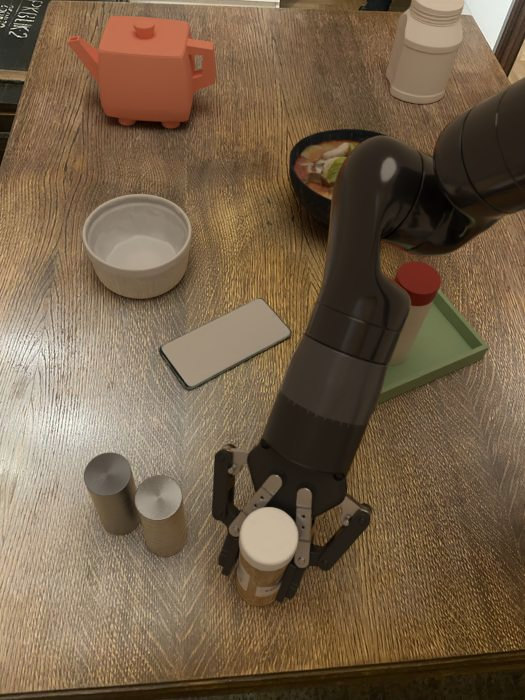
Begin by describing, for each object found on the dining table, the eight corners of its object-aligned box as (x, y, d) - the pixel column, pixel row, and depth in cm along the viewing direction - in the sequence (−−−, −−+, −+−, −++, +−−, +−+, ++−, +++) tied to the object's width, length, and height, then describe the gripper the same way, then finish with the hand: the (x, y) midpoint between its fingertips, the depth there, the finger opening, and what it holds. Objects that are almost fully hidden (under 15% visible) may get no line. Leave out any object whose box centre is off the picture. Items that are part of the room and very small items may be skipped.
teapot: (73, 127, 95) (54, 37, 84) (88, 82, 103) (72, -6, 91) (212, 137, 96) (212, 49, 85) (218, 92, 104) (218, 6, 92)
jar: (383, 67, 112) (404, -21, 100) (434, 70, 112) (460, -17, 100) (392, 103, 105) (415, 14, 93) (446, 105, 106) (476, 17, 94)
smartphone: (156, 347, 71) (261, 296, 77) (157, 350, 71) (260, 298, 77) (187, 390, 68) (294, 333, 74) (187, 392, 68) (293, 335, 74)
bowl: (424, 231, 87) (446, 174, 79) (326, 272, 81) (339, 215, 73) (355, 163, 95) (368, 105, 87) (261, 196, 89) (266, 137, 81)
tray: (428, 295, 80) (434, 282, 77) (481, 359, 74) (489, 346, 72) (308, 340, 74) (311, 327, 72) (356, 413, 68) (361, 401, 66)
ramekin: (200, 301, 76) (199, 263, 71) (93, 314, 74) (83, 275, 68) (185, 229, 84) (183, 189, 78) (88, 238, 81) (79, 198, 76)
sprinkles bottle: (276, 613, 56) (291, 571, 45) (229, 598, 56) (232, 554, 45) (288, 564, 58) (304, 514, 47) (242, 551, 59) (248, 498, 48)
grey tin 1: (147, 526, 59) (136, 486, 51) (107, 541, 58) (89, 502, 50) (136, 490, 61) (124, 446, 53) (96, 504, 60) (78, 461, 52)
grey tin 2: (192, 547, 58) (188, 510, 50) (152, 563, 57) (142, 527, 49) (179, 510, 61) (173, 468, 52) (140, 524, 59) (128, 484, 51)
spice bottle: (415, 359, 73) (449, 287, 62) (382, 370, 71) (411, 299, 61) (396, 330, 75) (426, 256, 64) (363, 340, 74) (389, 267, 63)
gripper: (230, 373, 46) (161, 567, 49) (411, 448, 43) (326, 649, 46) (255, 361, 53) (194, 531, 56) (411, 425, 50) (338, 599, 53)
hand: (254, 583), depth 51 cm, fingers closed on sprinkles bottle, 4 cm apart
